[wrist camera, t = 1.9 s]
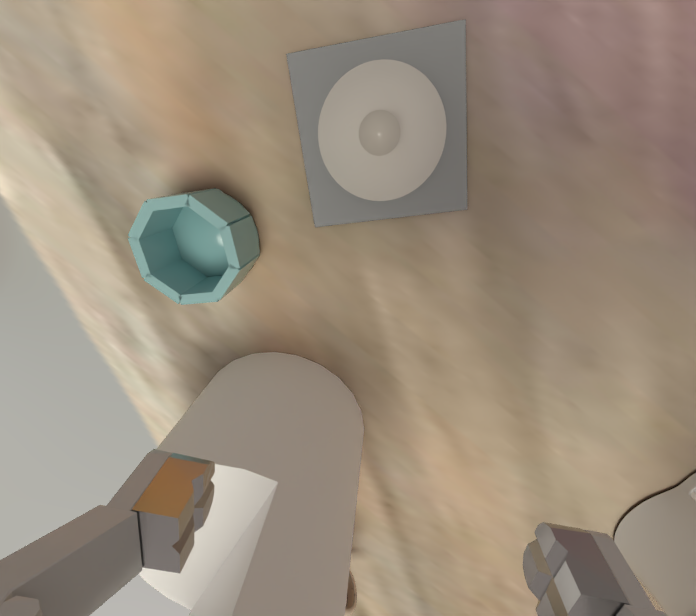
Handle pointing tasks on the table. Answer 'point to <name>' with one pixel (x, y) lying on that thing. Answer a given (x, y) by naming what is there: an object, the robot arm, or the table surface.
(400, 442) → the table surface
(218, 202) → the cup
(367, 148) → the lid
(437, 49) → the mat
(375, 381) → the table surface
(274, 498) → the cylinder
